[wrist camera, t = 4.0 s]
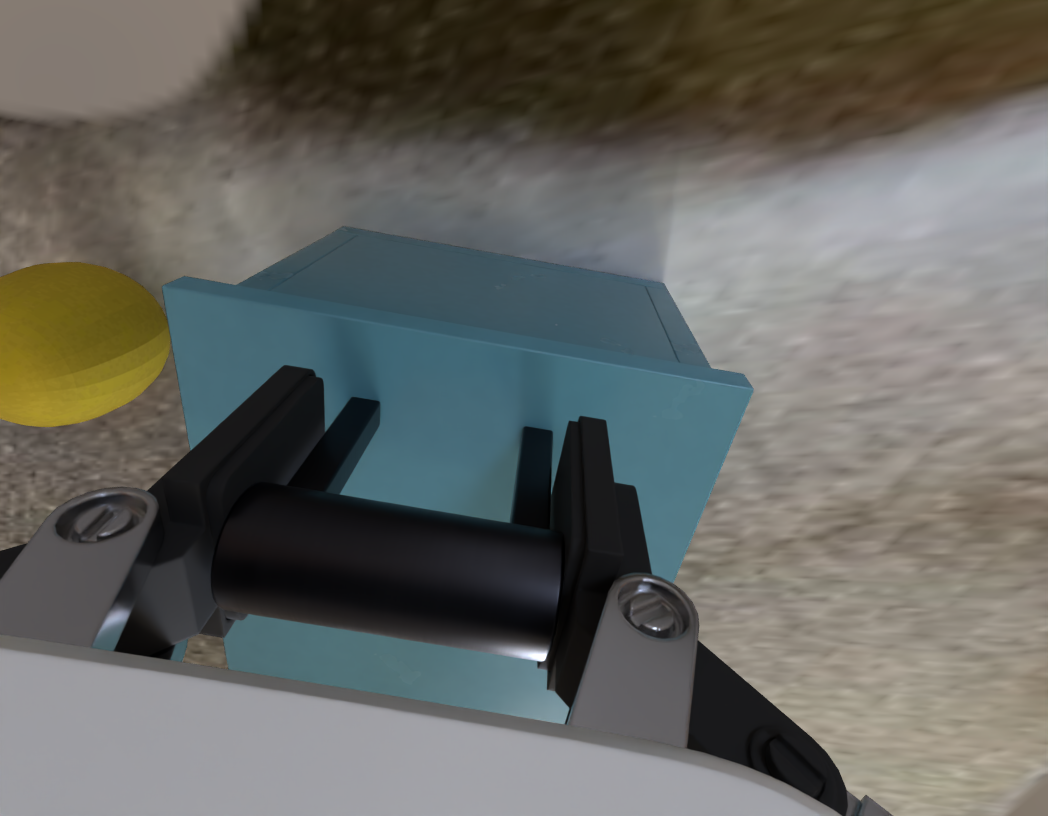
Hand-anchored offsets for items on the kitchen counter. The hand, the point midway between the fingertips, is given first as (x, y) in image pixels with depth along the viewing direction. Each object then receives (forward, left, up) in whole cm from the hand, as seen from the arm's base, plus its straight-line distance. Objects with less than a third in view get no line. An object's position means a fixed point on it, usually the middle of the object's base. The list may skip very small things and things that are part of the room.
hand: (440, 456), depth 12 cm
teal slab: (+5, 0, -2) cm, 6 cm away
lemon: (+3, -15, -12) cm, 20 cm away
